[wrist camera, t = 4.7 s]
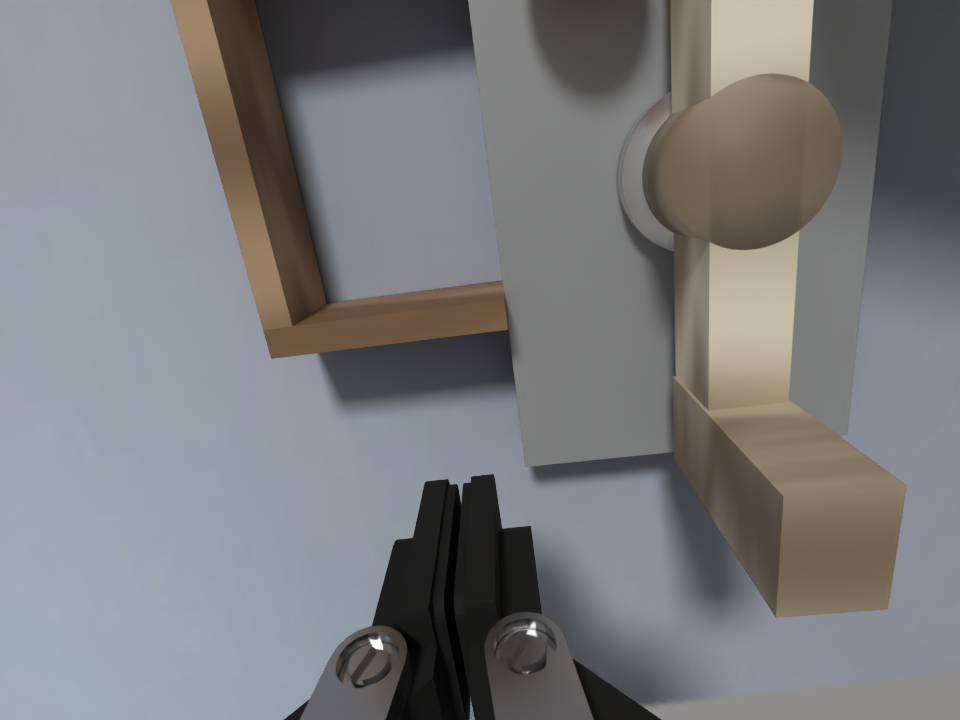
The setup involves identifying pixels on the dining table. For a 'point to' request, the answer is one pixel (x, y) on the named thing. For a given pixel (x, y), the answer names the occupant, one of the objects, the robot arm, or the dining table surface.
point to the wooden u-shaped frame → (295, 205)
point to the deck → (611, 238)
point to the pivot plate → (632, 174)
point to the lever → (760, 309)
